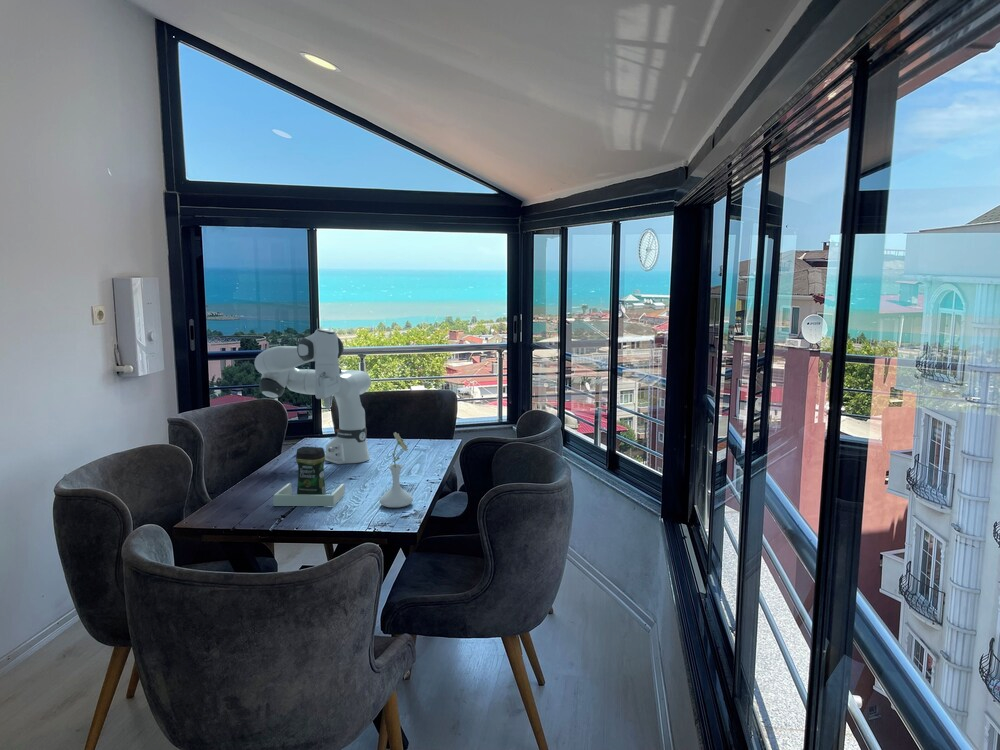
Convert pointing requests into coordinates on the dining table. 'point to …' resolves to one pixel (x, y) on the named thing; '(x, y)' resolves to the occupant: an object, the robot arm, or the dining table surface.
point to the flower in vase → (396, 484)
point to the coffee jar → (311, 471)
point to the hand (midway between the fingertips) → (328, 407)
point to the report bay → (306, 498)
